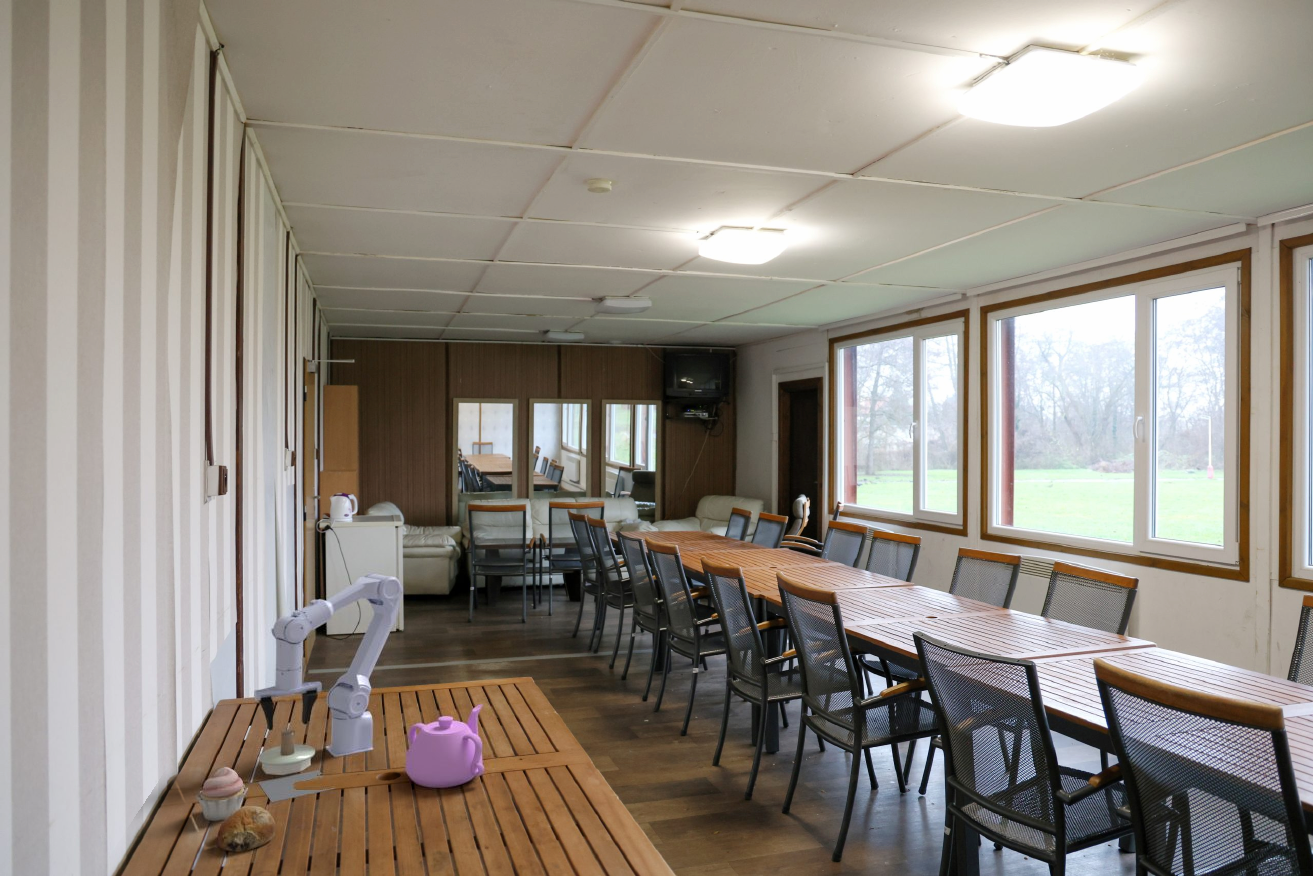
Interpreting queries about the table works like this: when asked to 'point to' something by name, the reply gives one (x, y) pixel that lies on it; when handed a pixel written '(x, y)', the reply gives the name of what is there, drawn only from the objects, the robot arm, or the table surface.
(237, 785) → the cupcake
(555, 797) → the table surface
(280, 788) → the mat
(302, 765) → the bowl
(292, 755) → the lid
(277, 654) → the robot arm
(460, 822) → the table surface
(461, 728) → the teapot
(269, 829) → the bread roll
